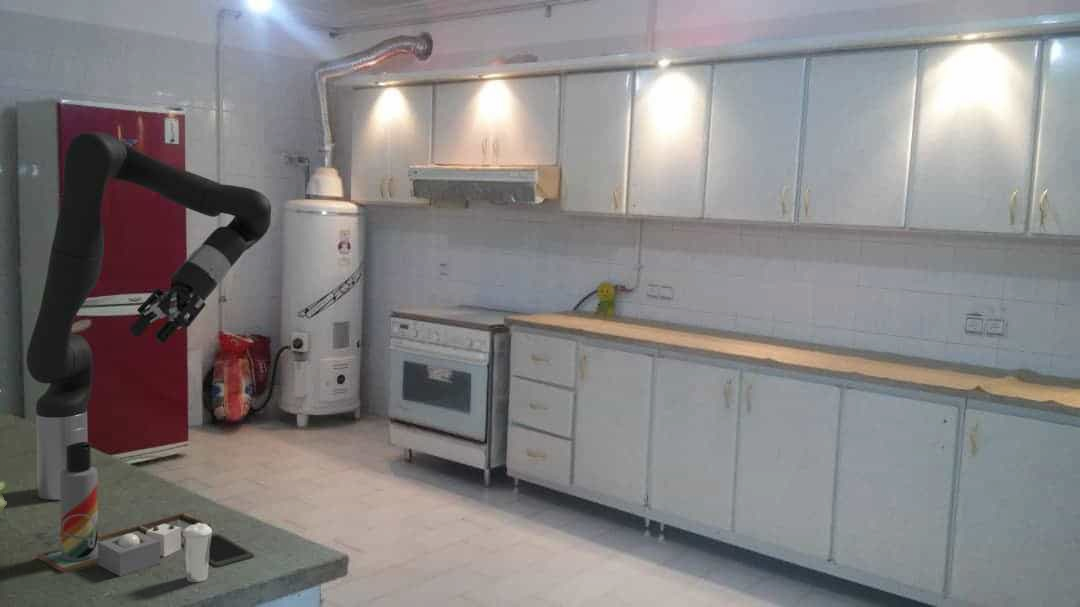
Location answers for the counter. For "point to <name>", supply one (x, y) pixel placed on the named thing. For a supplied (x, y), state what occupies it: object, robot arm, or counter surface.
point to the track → (64, 566)
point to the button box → (128, 554)
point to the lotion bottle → (78, 504)
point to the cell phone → (226, 551)
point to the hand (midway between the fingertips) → (145, 337)
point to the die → (166, 538)
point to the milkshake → (197, 551)
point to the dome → (128, 540)
